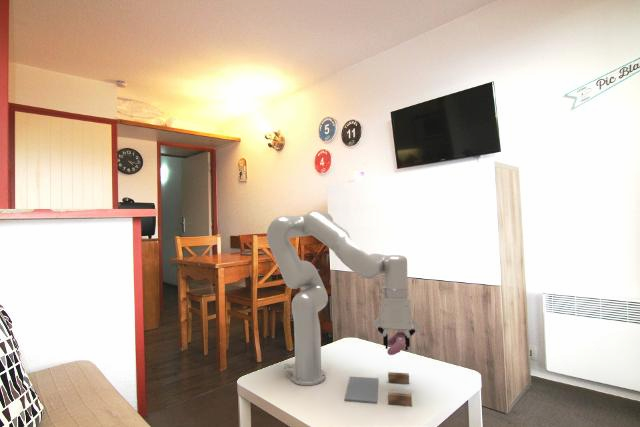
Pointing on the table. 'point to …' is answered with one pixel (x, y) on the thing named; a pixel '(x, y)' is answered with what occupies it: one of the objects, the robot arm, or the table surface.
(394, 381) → the dock
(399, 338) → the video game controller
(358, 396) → the mat
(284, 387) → the table surface
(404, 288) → the robot arm
